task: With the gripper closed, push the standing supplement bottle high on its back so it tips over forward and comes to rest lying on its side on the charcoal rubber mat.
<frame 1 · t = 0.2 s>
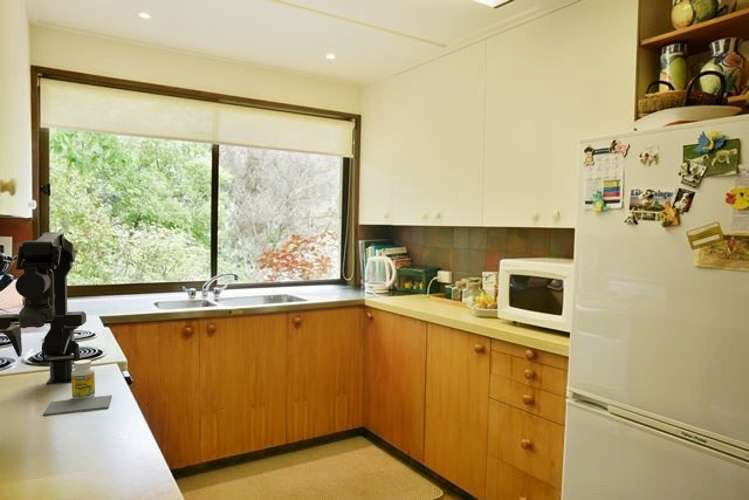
hand: (41, 355, 124), 14 cm above the counter, fingers open, 9 cm apart
supplement bottle: (83, 397, 136), on the counter
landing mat: (79, 405, 129), on the counter
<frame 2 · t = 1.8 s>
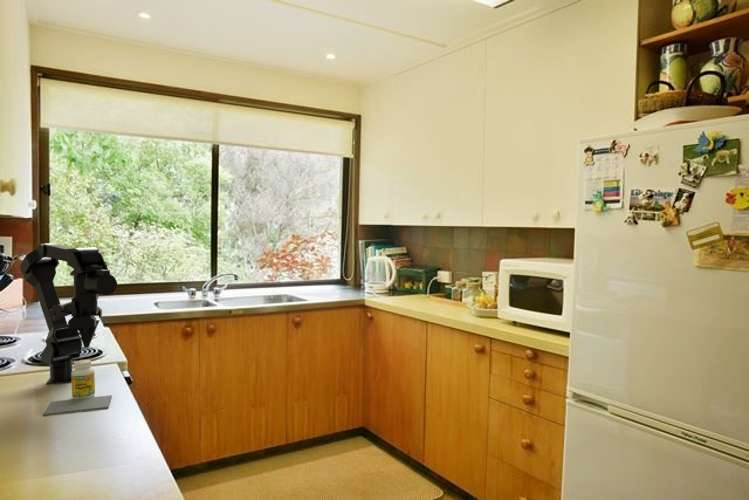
hand: (86, 347, 142), 12 cm above the counter, fingers closed
nothing on the counter moved.
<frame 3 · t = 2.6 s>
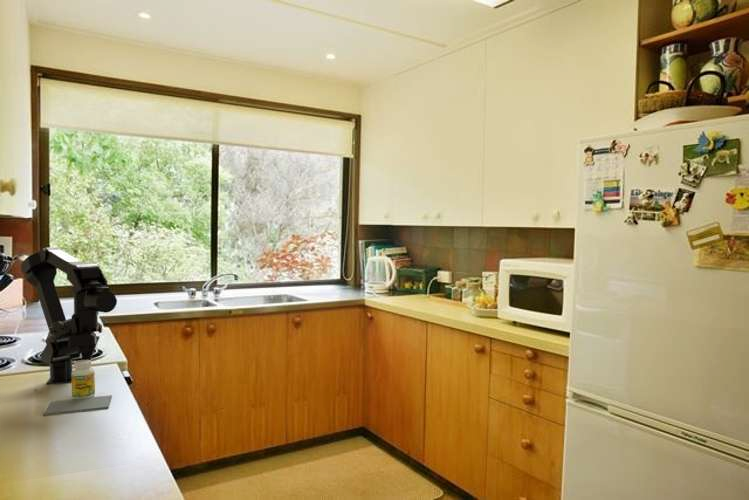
hand: (86, 364, 142), 7 cm above the counter, fingers closed
nothing on the counter moved.
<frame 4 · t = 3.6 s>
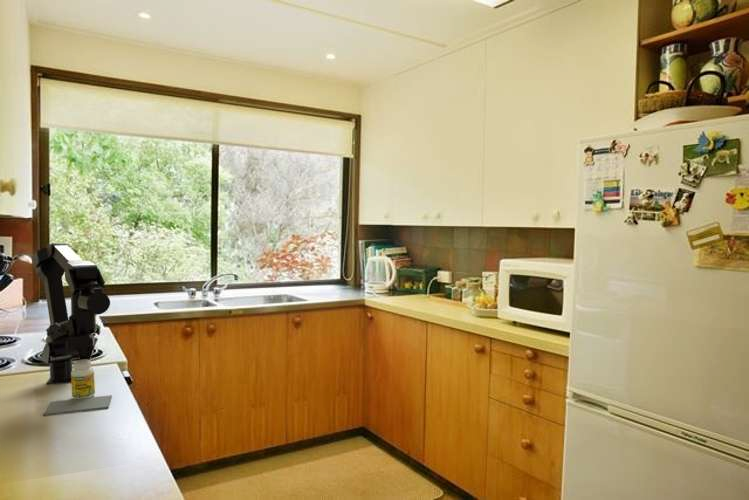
hand: (84, 366, 138), 7 cm above the counter, fingers closed
supplement bottle: (83, 396, 136), on the counter, touching gripper
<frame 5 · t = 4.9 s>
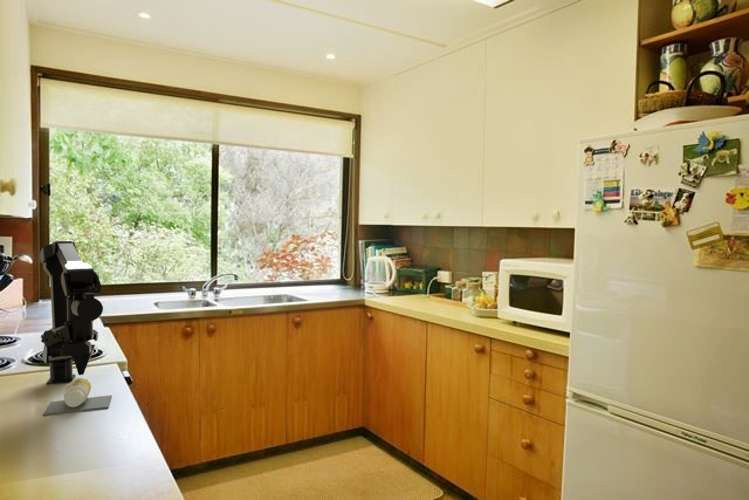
hand: (81, 374, 132), 7 cm above the counter, fingers closed
supplement bottle: (79, 387, 134), point 3 cm above the counter, touching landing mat
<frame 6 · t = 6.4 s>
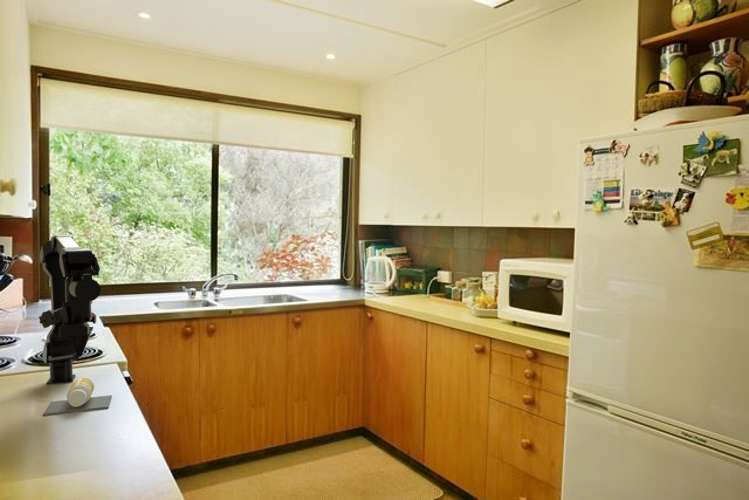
hand: (79, 356, 132), 12 cm above the counter, fingers closed
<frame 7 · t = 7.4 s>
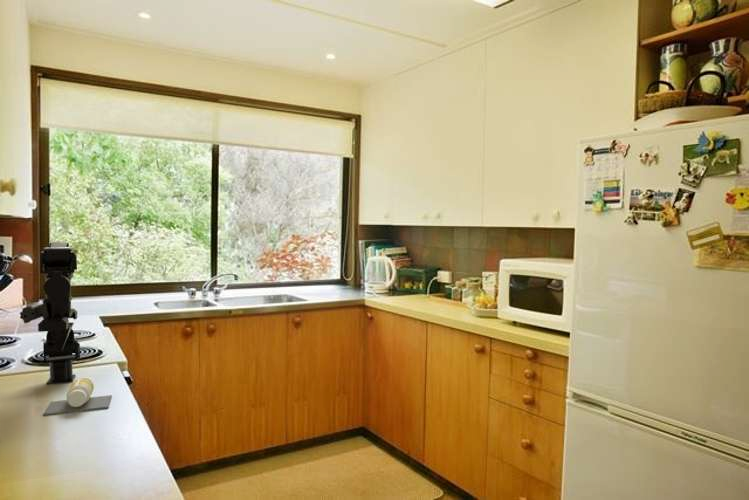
hand: (59, 351, 136), 12 cm above the counter, fingers closed
nothing on the counter moved.
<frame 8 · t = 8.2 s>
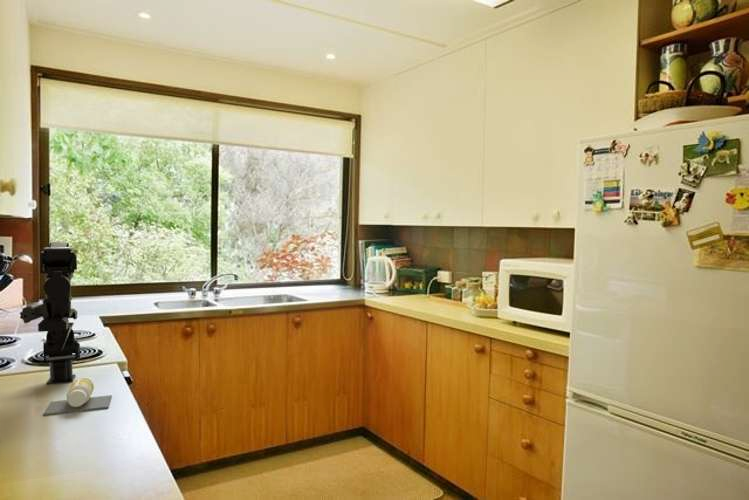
hand: (59, 351, 136), 12 cm above the counter, fingers closed
nothing on the counter moved.
at the end: supplement bottle tilted 90°; supplement bottle inside the target area (4.7 cm from its centre), point 3.2 cm above the counter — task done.
